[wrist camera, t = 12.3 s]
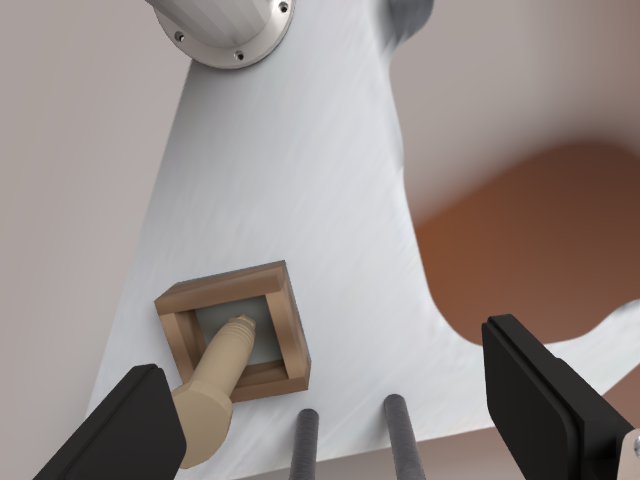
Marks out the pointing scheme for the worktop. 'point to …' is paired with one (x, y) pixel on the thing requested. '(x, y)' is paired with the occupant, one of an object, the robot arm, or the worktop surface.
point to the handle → (213, 390)
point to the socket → (231, 301)
